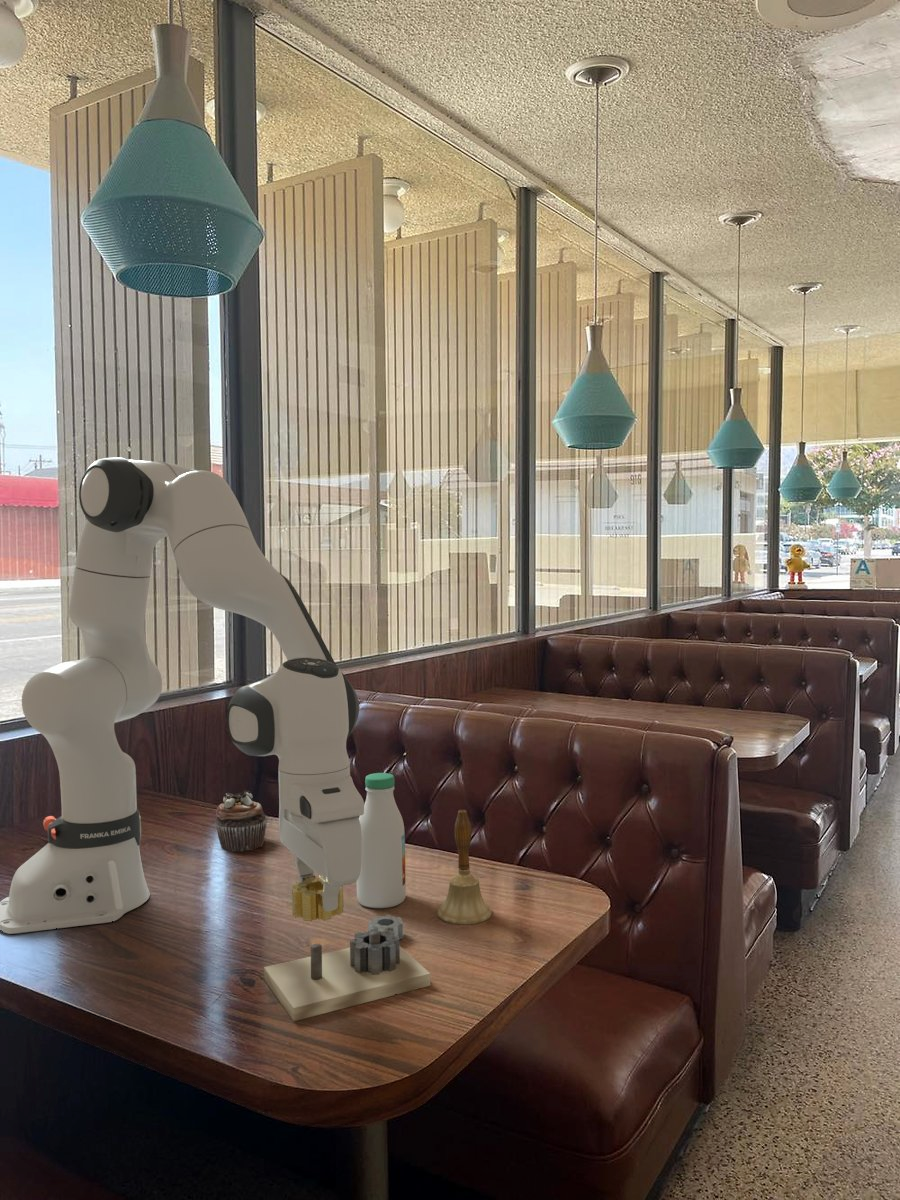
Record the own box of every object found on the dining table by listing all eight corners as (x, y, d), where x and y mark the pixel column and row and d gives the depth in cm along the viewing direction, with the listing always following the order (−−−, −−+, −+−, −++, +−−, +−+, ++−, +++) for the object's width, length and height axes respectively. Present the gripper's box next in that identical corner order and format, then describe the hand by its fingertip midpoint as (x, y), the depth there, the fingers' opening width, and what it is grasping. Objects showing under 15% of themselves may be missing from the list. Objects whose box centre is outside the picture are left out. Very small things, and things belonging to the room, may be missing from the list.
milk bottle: (398, 911, 138) (397, 782, 137) (350, 907, 140) (348, 780, 139) (410, 892, 146) (409, 770, 145) (365, 889, 147) (363, 768, 146)
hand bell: (474, 929, 132) (473, 821, 131) (426, 917, 136) (426, 813, 135) (501, 909, 139) (501, 807, 138) (455, 899, 143) (455, 800, 142)
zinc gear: (381, 947, 126) (380, 932, 125) (361, 936, 130) (361, 921, 129) (410, 938, 129) (410, 923, 129) (390, 926, 133) (390, 912, 132)
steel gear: (375, 979, 113) (375, 954, 113) (340, 965, 117) (339, 941, 117) (409, 961, 118) (409, 937, 118) (374, 948, 122) (374, 925, 122)
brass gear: (302, 925, 109) (301, 899, 109) (285, 907, 114) (285, 882, 114) (351, 914, 112) (351, 889, 112) (333, 897, 118) (332, 873, 117)
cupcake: (224, 856, 164) (223, 802, 164) (210, 842, 173) (208, 790, 172) (274, 847, 169) (274, 794, 168) (258, 833, 177) (257, 783, 177)
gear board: (293, 1021, 106) (292, 974, 106) (264, 979, 117) (263, 936, 116) (430, 985, 115) (429, 942, 114) (391, 949, 125) (390, 909, 125)
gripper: (265, 775, 120) (268, 877, 121) (318, 812, 102) (322, 932, 103) (310, 769, 123) (313, 869, 124) (370, 804, 105) (373, 920, 106)
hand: (317, 898), depth 113 cm, fingers closed on brass gear, 6 cm apart
